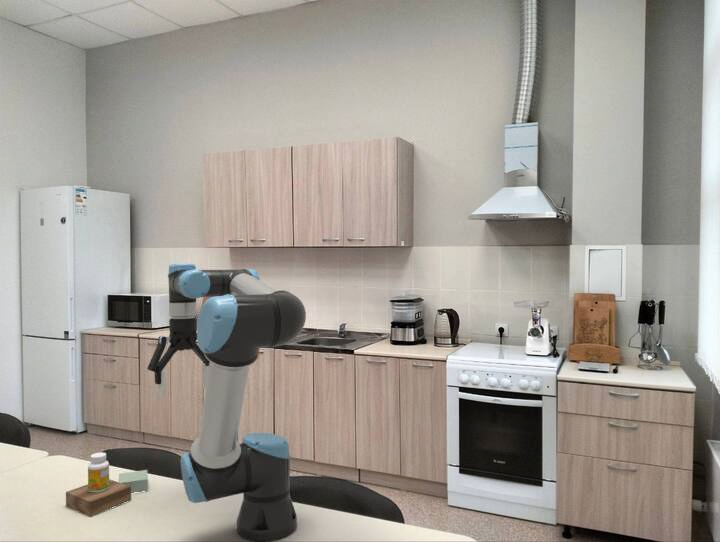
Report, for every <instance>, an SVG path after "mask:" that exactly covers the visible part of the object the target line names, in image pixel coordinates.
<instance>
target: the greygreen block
mask: <svg viewBox="0 0 720 542" xmlns="http://www.w3.org/2000/svg"><path fill="white" fill-rule="evenodd" d="M148 476H149V475H148V469H142V470H137V471H135V470H134V471H129V472H122V473H120V472H119V473H118V481H117V482H119V483H122V484H125V485H128V486H130V487H131V493H134V492H142V491H148V492H149V481H148V480H149V478H148Z"/></svg>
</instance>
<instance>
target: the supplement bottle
mask: <svg viewBox="0 0 720 542" xmlns="http://www.w3.org/2000/svg"><path fill="white" fill-rule="evenodd" d="M90 461H91V462H89V464H88V465H87V484H88V491H89V492H92V493H98V492H103V491H105V490H107V489H108V488H109V479H110V463H109V461H108V460H107V453H106V452H96V453H95V452H94V453H93V454H91V455H90Z"/></svg>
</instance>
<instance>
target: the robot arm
mask: <svg viewBox="0 0 720 542" xmlns="http://www.w3.org/2000/svg"><path fill="white" fill-rule="evenodd" d="M167 278H168V314H169V317H170V319H169V320H168V322H169V323H168V324H169V328H168V329H169V335H168V336H165V335H164V336H163V335H159V336H158V341H157V345H156V348H155V350H154V351H153V354H152V356H151V358H150V361H149V363H148V366H147V370H148V371H150V372H154V383H155V384H156V385H157V395H158V396H160V397H166V385H165V384H166V382H165V381H166V379H165V377H166V376H165V372H164V371H163V370H164V369H165V368H166V366H167V365H168V363H169V362H170V360H171V359H172V358H173V356H174V355H175V354H176V353H177V352H178V351H180V352H181V351H185V350H187V351H189V350H192V352H194V353H195V355H196V356H197V357H198V358H199V359H200V361H201V362H202V363H203V365H201V377H202V379H201V381H202V382H201V383H202V384H201V385H202V387H201V388H203V389H205V393H204V401H203V408H202V415H201V423H200V429H199V436H198V437H197V438H195V440H194V441H193V442H192V444H191V447H190V452H189V451H188V452H185V453H183V454H181V456H180V469H181V470H180V471H181V477H182V483H183V486H184V491H185V494H186V496H187V499H188V500H189V501H190V502H191V503H194V504H198V503H204V502H205V503H207V502H211V501H215V500H219V499H224V498H227V497H232V496H235V495H242V494H243V499H242V502H241V505H240V508H239V511H238V515H237V519H236V533H237V534H238V536H240V537H241V538H243V539H246V540H248V541H254V542H271V541H276V540H279V539H283V538H285V537H288V536H290V535H291V534H292V533H293V532H294V531H295V530H296V529H297V527H298V516H297V513H296V509H295V506H294V504H293V500H292V498H291V494H290V493H291V491H290V488H291V487H290V485H291V483H290V482H291V481H290V480H291V479H290V477H291V476H290V475H291V474H290V473H291V470H290V469H291V468H290V466H291V465H290V463H291V453H290V444H289V441H288V440H287V439H286V438H285V437H283V436H281V435H278V434H274V433H267V432H252V433H247V434H245V435H244V436H243V437H242V440H241V441H242V443H239V441H238V440H237V439H238V434H239V429H240V428H239V427H240V422H241V416H242V410H243V404H244V398H245V393H246V386H247V381H248V374H249V368H250V366H252V365H253V364H254V363H256V362H257V359H258V358H259V353H260V349H265V348H274V347H281V346H283V345H287V344H288V343H290V342H292V341H294V339H296V338H297V337H299V335H300V333H302V331H303V329H304V327H305V323H306V319H307V314H306V308H305V306H304V304H303V301H301V299H300V298H299V297H298V296H296V294H293V293H291V292H289V291H287V290H283V289H282V290H277V289H275V288H273V287H272V286H270V285H268V284H267V283H265V282H263V281H261V280H260V276H259V274H258V272H257V270H255V269H248V268H241V269H239V268H238V269H237V268H236V269H197V267H196V265H195V264H194V263H191V262H190V263H182V262H181V263H171V264H170V265H168V274H167ZM200 298H208V299H206V300H205V302H204V303H203V304H202V306H201V308H200V311H199V313H197V312H198V311H197V308H198V307H197V299H200ZM197 315H198V317H197ZM196 317H197V318H196ZM168 343H170V345H169V346H168V348H167V350H166V351H165V349H166V346H167V344H168ZM164 351H165V353H164ZM163 353H164V354H163ZM162 355H163V356H162Z"/></svg>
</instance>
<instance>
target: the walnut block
mask: <svg viewBox="0 0 720 542" xmlns="http://www.w3.org/2000/svg"><path fill="white" fill-rule="evenodd" d="M130 500H131V501H132V494H131V487H130V486H128V485H125V484H122V483H119V482H118V481H115V480H112V479H110V478H109V488H108V489H107V490H105V491H103V492H98V493H92V492H89V491H88V483H87V484H84V485H81V486H78V487H76V488H73V489H70V490H68V491H66V492H65V507H66V506H67V507H66V508H69V509H71V508H72V509H71V510H73V509H74V511H76V510H77V511H76V512H78V511H79V512H78V513H81V514H83V515H85V514H86V515H85V516H88V517H91V518H92V517H94V515H95V516H96V515H100V514H101V512H102V513H104V512H106V511H105V510H107V509H109V510H111V509H110V508H112V507H114V506H117V505H119V504H122V503H124V502H127V501H129V502H131V501H130ZM127 503H128V502H127ZM124 504H125V503H124ZM122 505H123V504H122ZM119 506H120V505H119ZM117 507H118V506H117ZM114 508H115V507H114ZM112 509H113V508H112ZM103 511H104V512H103ZM107 511H108V510H107ZM99 513H100V514H99Z"/></svg>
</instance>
